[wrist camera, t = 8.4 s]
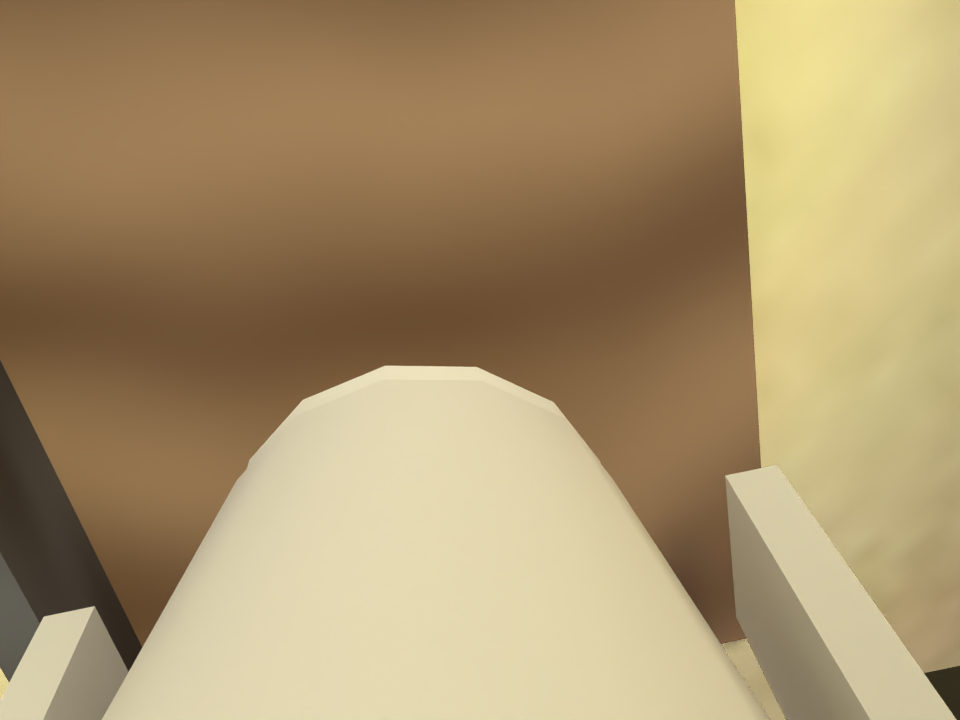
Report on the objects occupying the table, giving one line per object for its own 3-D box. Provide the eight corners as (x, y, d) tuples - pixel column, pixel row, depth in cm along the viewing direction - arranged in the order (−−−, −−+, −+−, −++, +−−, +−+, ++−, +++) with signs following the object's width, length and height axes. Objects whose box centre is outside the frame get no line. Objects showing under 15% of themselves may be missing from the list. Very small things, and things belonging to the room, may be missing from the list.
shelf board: (-360, -323, 12) (-678, -432, 8) (665, -550, 12) (778, -757, 8) (159, 708, 21) (111, 865, 17) (746, 587, 21) (816, 721, 17)
